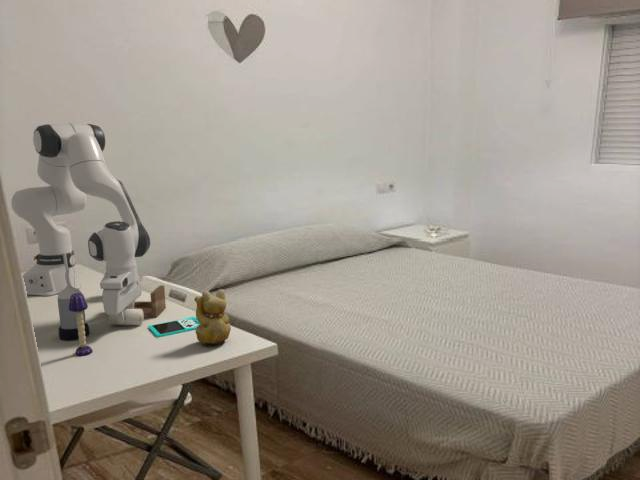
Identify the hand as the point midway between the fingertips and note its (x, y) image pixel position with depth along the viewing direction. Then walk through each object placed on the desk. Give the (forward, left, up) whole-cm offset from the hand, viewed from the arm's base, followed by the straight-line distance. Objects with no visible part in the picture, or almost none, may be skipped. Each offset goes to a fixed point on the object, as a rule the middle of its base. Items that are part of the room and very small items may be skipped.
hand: (126, 319), depth 170 cm
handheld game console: (+17, -2, -3) cm, 17 cm away
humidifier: (-12, -9, -2) cm, 15 cm away
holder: (0, +11, -2) cm, 11 cm away
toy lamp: (-3, -22, -2) cm, 22 cm away
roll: (0, +1, -2) cm, 2 cm away
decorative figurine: (+31, -14, -2) cm, 34 cm away
